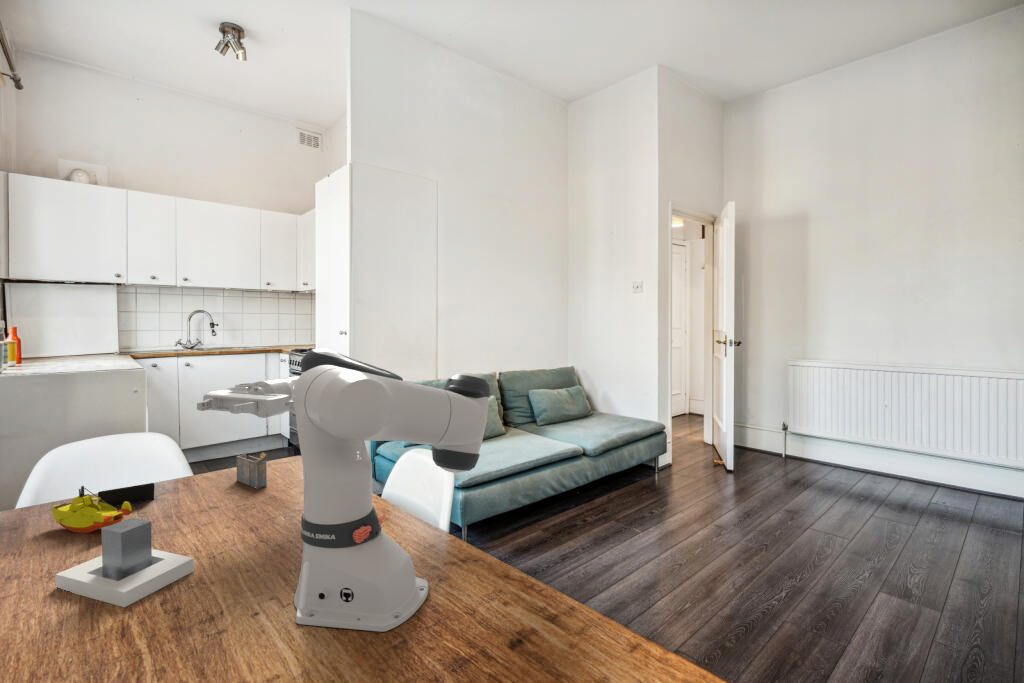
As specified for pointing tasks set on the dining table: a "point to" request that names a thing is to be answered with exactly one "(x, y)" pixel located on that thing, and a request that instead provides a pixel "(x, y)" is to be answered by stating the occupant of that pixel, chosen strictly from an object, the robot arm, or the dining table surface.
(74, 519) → the toy boat
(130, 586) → the white rectangular frame
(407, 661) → the dining table surface
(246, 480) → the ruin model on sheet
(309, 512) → the robot arm
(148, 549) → the grey metal block
